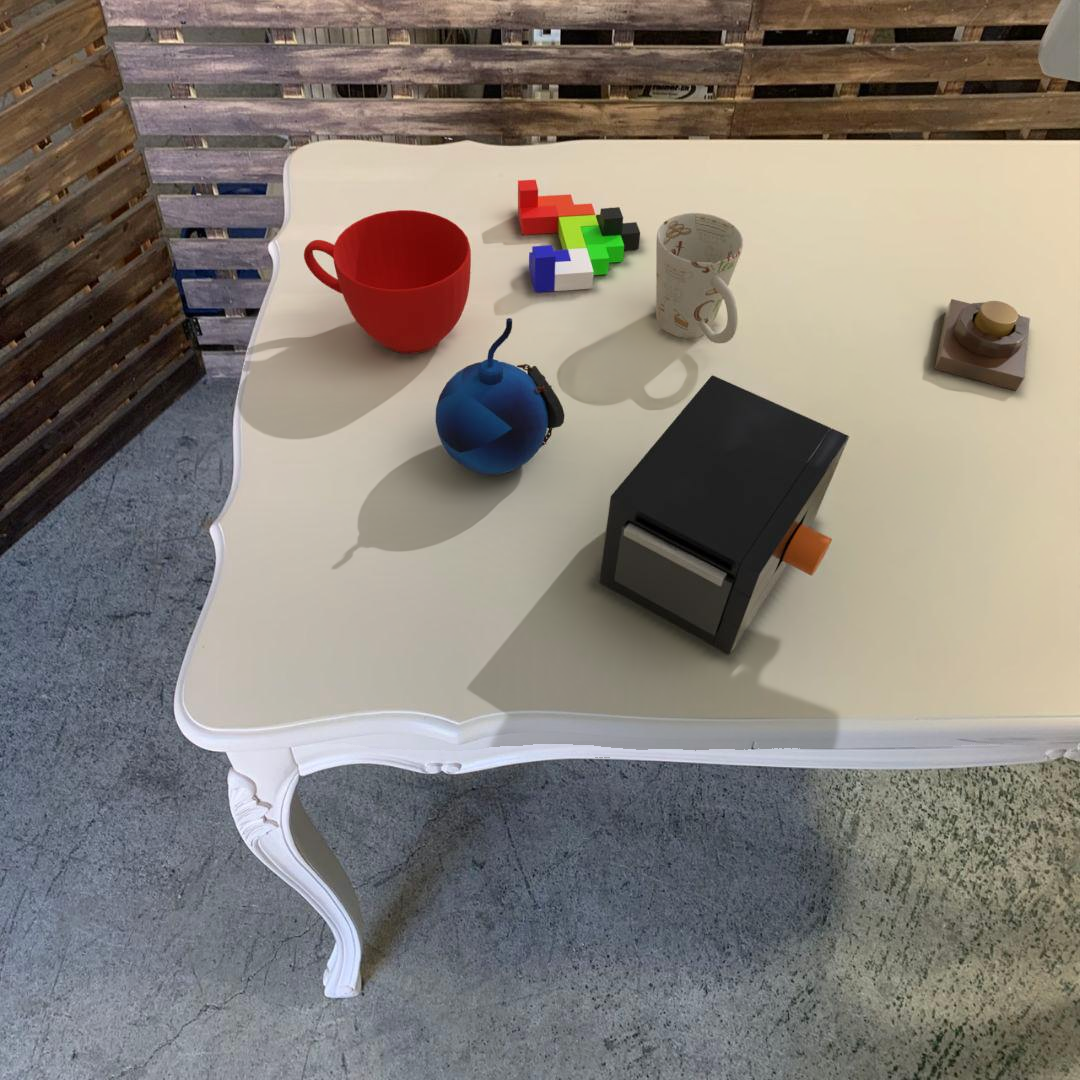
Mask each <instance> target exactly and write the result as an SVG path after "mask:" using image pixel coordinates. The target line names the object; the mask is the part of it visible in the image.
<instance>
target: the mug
mask: <svg viewBox="0 0 1080 1080" xmlns="http://www.w3.org/2000/svg"><path fill="white" fill-rule="evenodd" d="M655 246H656V247H655V248H656V249H655V250H656V254H655V255H656V261H655V263H656V264H655V265H656V268H655V272H656V273H655V274H656V275H655V276H656V278H655V279H656V280H655V284H656V285H655V288H656V289H655V294H656V295H655V299H656V300H655V306H656V307H655V308H656V309H655V313H656V314H655V318H656V322H657V324H658V325H659V327H660V328H661V329H662V330H663V331H664V332H666V333H668V334H670V335H672V336H674V337H678V338H684V339H692V338H698V337H702V336H705V337H706V338H707V339H708V340H709V341H711V343H715V344H727V343H729V342H730V341H731V340H732V339H733V338H734V337H735V334H736V331H737V328H738V321H739V320H738V319H739V317H738V316H739V315H738V308H737V302H736V299H735V295H734V293H733V291H732V290H731V289H730V287H729V285H730V282H731V280H732V277H733V275H734V272H735V269H736V267H737V264H738V263H739V260H740V257H741V254H742V251H743V247H744V238H743V235H742V233H741V231H740V230H739V229H738V228H737V227H736V226H735V225H734V224H732V223H731V222H730V221H728V220H726V219H724V218H722V217H719V216H716V215H713V214H708V213H702V212H701V213H700V212H688V213H681V214H677V215H674V216H671V217H669V218H668V219H665V221H663V222H662V224H661V225H660V226H659V227H658V230H657V233H656V245H655ZM723 302H724V304H725V308H726V314H727V320H726V326H725V328H724V329H723V330H722V331H721V332H718V333H715V331H713V330H712V327H713V326H714V324H715V321H716V320H717V316H718V313H719V311H720V308H721V306H722V303H723Z"/></svg>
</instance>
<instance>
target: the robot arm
mask: <svg viewBox="0 0 1080 1080" xmlns="http://www.w3.org/2000/svg"><path fill="white" fill-rule="evenodd" d="M1037 59H1038V63H1039V67H1040V69H1041V72H1042V74H1044V75H1045V76H1048V77H1050V78H1051V77H1052V78H1057V79H1062V80H1068V81H1074V82H1078V83H1080V0H1060V2H1059V4H1058V5H1057V7H1056V9H1055V11H1054V12H1053V15H1052V16H1051V18H1050V20H1049V22H1048V24H1047V26H1046V29H1045V31H1044V33H1043V35H1042V38H1041V40H1040V44H1039V46H1038V52H1037Z"/></svg>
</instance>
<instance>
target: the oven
mask: <svg viewBox="0 0 1080 1080" xmlns="http://www.w3.org/2000/svg"><path fill="white" fill-rule="evenodd" d="M849 439H850V436H849V434H846V433H844V432H842V431H839V430H836V429H834V428H832V427H829V426H828V425H825V424H823V423H821V422H819V421H817V420H814V419H812V418H810V417H808V416H805V415H803V414H801V413H799V412H797V411H794V410H792V409H790V408H787V407H785V406H783V405H781V404H778V403H777V402H774V401H772V400H770V399H767V398H765V397H763V396H760V395H758V394H756V393H755V392H752V391H749V390H747V389H744V388H742V387H740V386H738V385H736V384H733V383H731V382H729V381H727V380H724V379H722V378H721V377H718V376H716V375H714V374H711V376H709V378H708V379H707V380H706V382H705V383H704V384H703V385H702V386H701V387H700V388H699V390H698V391H697V392H696V393H695V395H694V396H693V397H692V398H691V399H690V401H689V402H688V403H687V404H686V405H685V406H684V408H683V409H682V410H681V411H680V413H679V414H678V415H677V416H676V418H675V419H674V420H673V421H672V422H671V423H670V424H669V426H668V427H667V428H666V430H665V431H664V432H663V433H662V434H661V435H660V436H659V438H658V439H657V440H656V441H655V442H654V444H653V445H652V446H651V447H650V448H649V450H647V452H646V453H645V454H644V456H643V457H642V458H641V459H640V461H639V462H638V463H637V464H636V465H635V466H634V468H633V469H632V470H631V471H630V472H629V474H628V475H627V476H626V477H625V478H624V479H623V481H622V482H621V483H620V484H619V486H618V487H617V488H616V489H615V490H614V491H613V493H612V494H610V499H609V506H608V513H607V522H606V529H605V536H604V543H603V550H602V551H603V553H602V559H601V566H600V573H599V581H598V583H599V584H601V585H603V586H605V587H607V588H608V589H610V590H612V591H614V592H615V593H616V594H619V595H621V596H623V597H624V598H626V599H628V600H630V601H631V602H633V603H635V604H637V605H638V606H640V607H643V608H644V609H646V610H648V611H649V612H651V613H653V614H655V615H657V616H659V617H660V618H662V619H664V620H665V621H667V622H669V623H671V624H673V625H675V626H676V627H678V628H680V629H682V630H684V631H686V632H688V633H689V634H691V635H693V636H694V637H697V638H698V639H700V640H702V641H703V642H706V643H707V644H709V645H711V646H713V647H714V648H716V649H718V650H720V651H721V652H723V653H725V654H727V655H731V653H732V652H733V650H734V649H735V647H736V646H737V644H738V642H739V640H741V638H742V636H743V634H744V633H745V631H746V629H748V627H749V625H750V623H751V622H752V621H753V619H754V617H755V615H756V614H757V612H758V611H759V609H760V608H761V606H762V604H763V603H764V601H765V600H766V598H767V597H768V595H769V594H770V592H771V590H772V589H773V587H774V586H775V584H776V583H777V581H778V579H779V578H780V576H781V575H782V573H783V572H784V570H785V569H786V566H787V565H788V564H787V563H785V562H783V561H782V559H783V556H784V553H785V551H786V549H787V547H788V545H789V543H790V541H791V539H792V537H793V536H794V534H795V532H796V531H797V529H798V528H799V526H800V525H805V526H807V527H809V528H811V527H812V526H813V524H814V521H815V519H816V517H817V515H818V512H819V510H820V507H821V505H822V502H823V500H824V497H825V496H826V493H827V491H828V488H829V486H830V483H831V481H832V479H833V477H834V474H835V472H836V470H837V467H838V464H839V463H840V460H841V458H842V455H843V453H844V450H845V448H846V446H847V444H848V441H849Z"/></svg>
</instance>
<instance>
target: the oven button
mask: <svg viewBox="0 0 1080 1080" xmlns="http://www.w3.org/2000/svg"><path fill="white" fill-rule="evenodd" d="M831 542H832V538H831V537H829V536H827V535H826V534H823V533H822V532H819V531H817V530H815V529H813V528H811V527H810V528H809V527H807V526H805V525H800V526H799V528H798V529H797V531H796V532H795V534H794V536H793V537H792V539H791V541H790V543H789V545H788V547H787V549H786V551H785V553H784V556H783V559H782V561H783V562H785V563H787V565H789V566H791V567H793V568H795V569H797V570H799V571H801V572H803V573H806V574H807V575H808V576H813V575H814V574H815V572H816V571H817V569H818V567H819V566H820V564H821V562H822V561H823V559H824V557H825V555H826V553H827V551H828V549H829V548H830V546H831Z"/></svg>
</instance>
